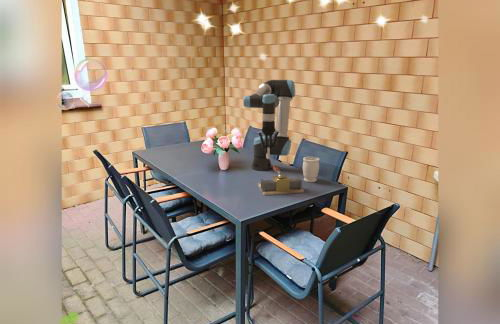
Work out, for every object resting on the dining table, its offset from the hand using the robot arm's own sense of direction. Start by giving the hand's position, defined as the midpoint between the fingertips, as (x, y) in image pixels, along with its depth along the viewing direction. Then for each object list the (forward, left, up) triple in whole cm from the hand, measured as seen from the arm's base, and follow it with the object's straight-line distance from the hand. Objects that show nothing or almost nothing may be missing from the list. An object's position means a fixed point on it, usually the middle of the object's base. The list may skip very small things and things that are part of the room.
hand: (268, 158), depth 218 cm
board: (+6, +7, -18) cm, 20 cm away
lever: (+3, +6, -10) cm, 12 cm away
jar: (-5, +30, -19) cm, 36 cm away
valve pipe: (+10, +6, -18) cm, 22 cm away
